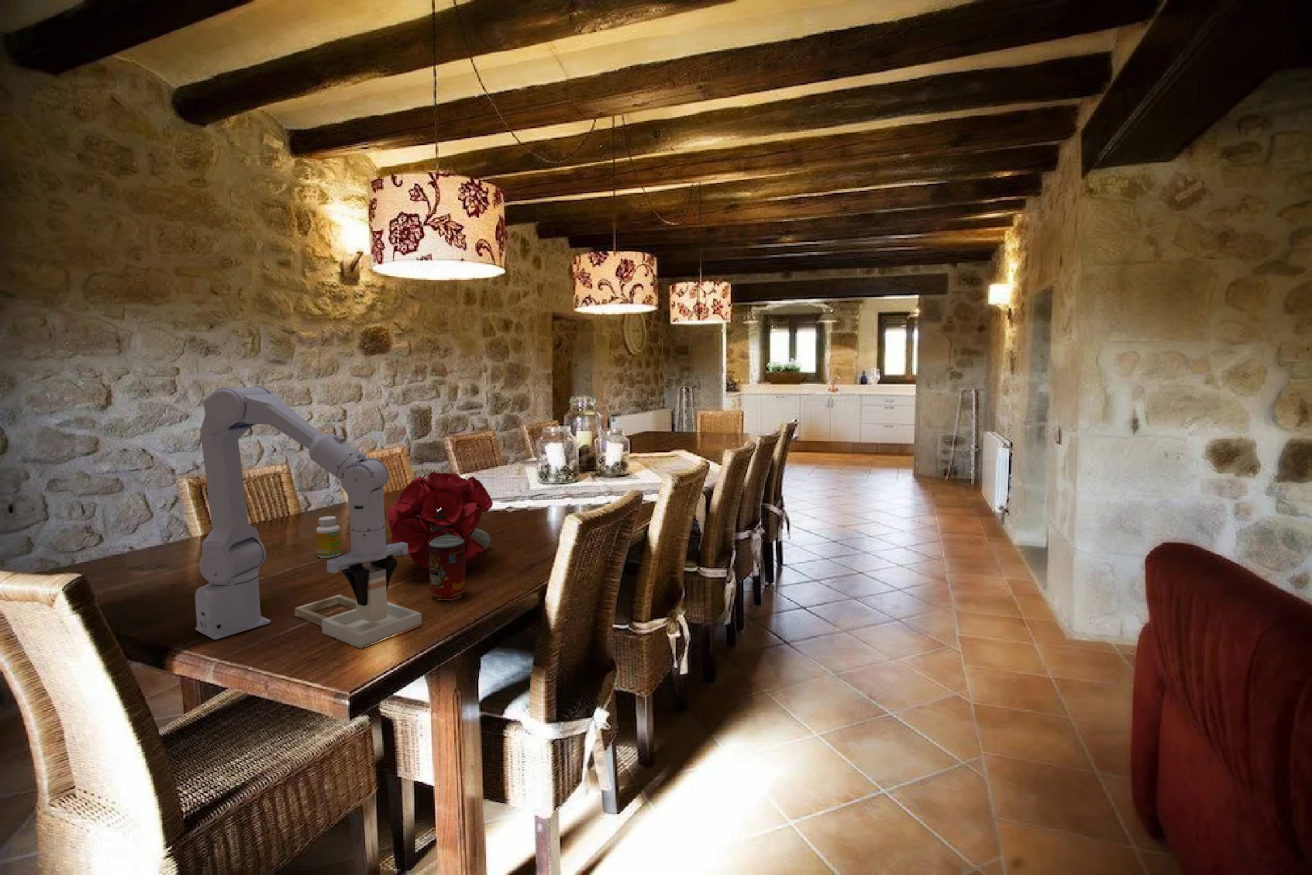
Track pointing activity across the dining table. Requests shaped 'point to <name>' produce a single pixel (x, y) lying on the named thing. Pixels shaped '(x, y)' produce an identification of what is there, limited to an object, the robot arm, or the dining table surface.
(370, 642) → the tray
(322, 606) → the frame
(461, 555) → the soda can
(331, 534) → the supplement bottle
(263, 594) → the dining table surface
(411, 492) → the bouquet
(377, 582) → the block
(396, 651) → the dining table surface
